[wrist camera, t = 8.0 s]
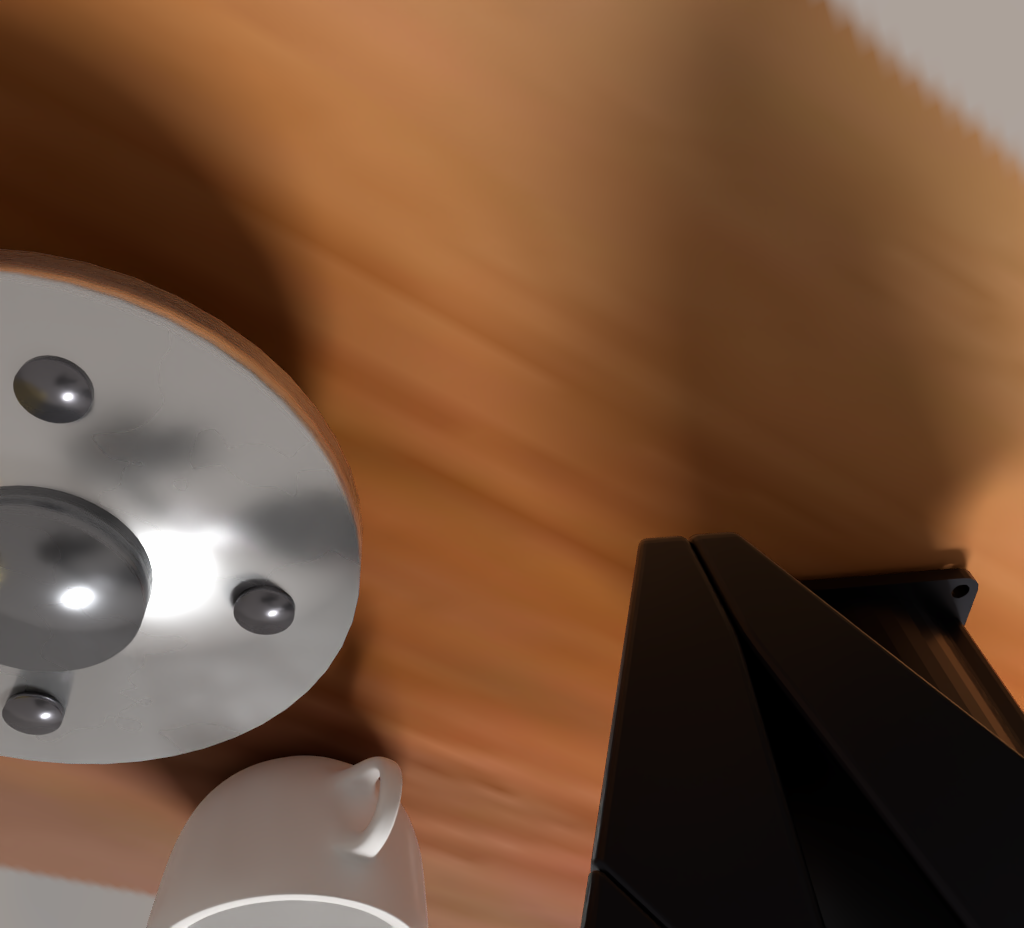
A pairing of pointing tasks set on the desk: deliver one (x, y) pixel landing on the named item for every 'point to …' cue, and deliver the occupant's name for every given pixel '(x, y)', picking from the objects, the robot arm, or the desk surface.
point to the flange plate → (156, 522)
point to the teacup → (297, 851)
